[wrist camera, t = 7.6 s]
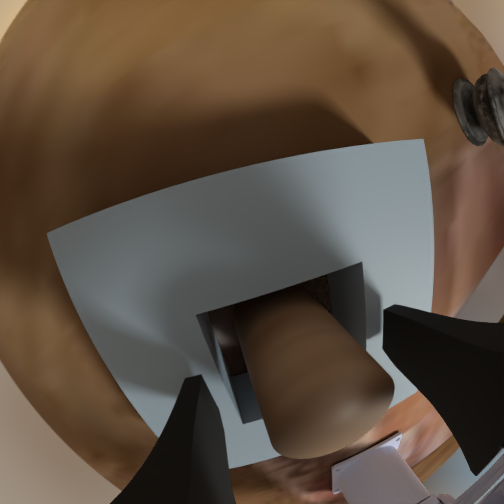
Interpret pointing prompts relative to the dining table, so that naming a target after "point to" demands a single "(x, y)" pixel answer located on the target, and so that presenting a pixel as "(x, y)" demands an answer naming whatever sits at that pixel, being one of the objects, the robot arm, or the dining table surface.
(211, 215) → the socket block
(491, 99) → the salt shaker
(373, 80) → the dining table surface
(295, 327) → the walnut peg
